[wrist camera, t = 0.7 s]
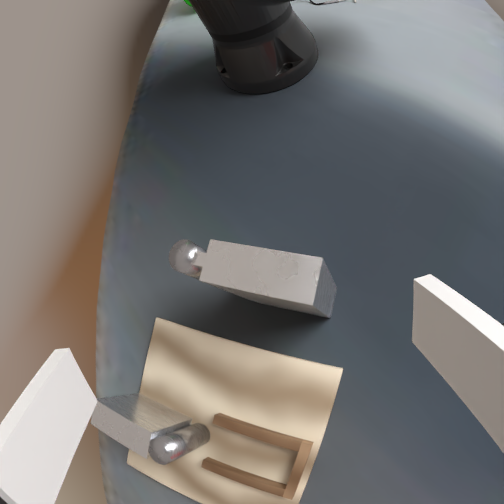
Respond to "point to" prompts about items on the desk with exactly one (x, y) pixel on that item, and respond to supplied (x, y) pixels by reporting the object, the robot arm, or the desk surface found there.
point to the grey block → (259, 274)
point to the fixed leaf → (148, 427)
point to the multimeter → (328, 2)
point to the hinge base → (238, 416)
